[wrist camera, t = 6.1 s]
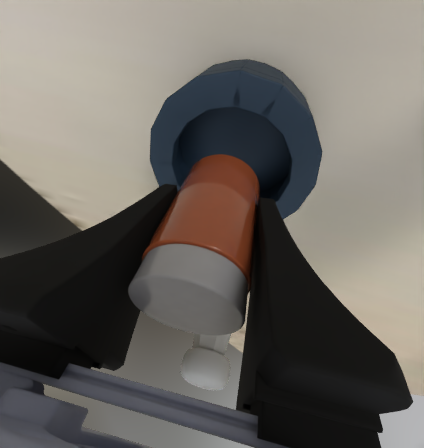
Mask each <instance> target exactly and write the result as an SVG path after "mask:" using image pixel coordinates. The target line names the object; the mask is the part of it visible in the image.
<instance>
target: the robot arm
mask: <svg viewBox="0 0 424 448" xmlns="http://www.w3.org/2000/svg"><path fill="white" fill-rule="evenodd" d="M177 193H178V191H177V185H171V184H164V185H162V186H160V187H159V188H157V189H156V190H154V191H153V192H151V193H150V194H148V195H147V196H145V197H144V198H142V199H141V200H139V201H138V202H136V203H135V204H133V205H131V206H130V207H128V208H126V209H125V210H123V211H121V212H120V213H118V214H116V215H114V216H113V217H111V218H109V219H107V220H105V221H103V222H101V223H99V224H97V225H95V226H93V227H91V228H88V229H86V230H84V231H81V232H79V233H76V234H74V235H71V236H69V237H67V238H64V239H61V240H59V241H56V242H53V243H50V244H47V245H45V246H41V247H38V248H35V249H32V250H29V251H25V252H22V253H18V254H15V255H12V256H8V257H4V258H0V448H152V447H149V446H146V445H142V444H139V443H136V442H133V441H129V440H125V439H122V438H119V437H116V436H112V435H109V434H106V433H102V432H99V431H95V430H92V429H89V428H85V427H82V424H83V422H84V419H85V418H86V415H87V413H88V409H87V408H84V407H81V406H78V405H74V404H71V403H68V402H65V401H61V400H58V399H55V398H51V397H48V396H45V395H44V385H43V384H46V385H49V386H52V387H56V388H59V389H62V390H66V391H69V392H72V393H76V394H79V395H82V396H85V397H89V398H92V399H95V400H99V401H102V402H105V403H109V404H112V405H115V406H119V407H122V408H125V409H129V410H132V411H135V412H139V413H142V414H145V415H148V416H152V417H155V418H158V419H162V420H165V421H168V422H172V423H175V424H178V425H182V426H185V427H188V428H192V429H195V430H198V431H202V432H205V433H208V434H212V435H215V436H218V437H221V438H225V439H228V440H232V441H235V442H238V443H241V444H245V445H248V446H251V447H254V448H381V445H380V441H379V437H378V433H382V431H383V428H382V424H381V420H380V416H379V414H383V413H389V412H395V411H401V410H405V409H407V408H409V407H410V405H411V404H412V403H413V400H412V397H411V394H410V392H409V389H408V386H407V383H406V380H405V377H404V374H403V372H402V370H401V367H400V365H399V363H398V361H397V359H396V356H395V354H394V353H393V352H392V351H391V350H390V349H389V348H388V347H387V346H385V345H384V344H383V343H382V342H381V341H380V340H379V339H378V338H377V337H376V336H375V335H374V334H372V333H371V332H370V331H369V330H368V329H367V328H366V327H365V326H364V325H363V324H362V323H361V322H360V321H359V320H358V319H357V318H356V317H355V316H354V315H353V314H352V313H351V312H350V311H349V310H348V309H347V308H346V307H345V306H344V305H343V304H342V303H341V302H340V301H339V300H338V299H337V298H336V296H335V295H334V294H333V293H332V292H331V291H330V290H329V288H328V287H327V286H326V285H325V284H324V283H323V282H322V280H321V279H320V278H319V277H318V275H317V274H316V273H315V272H314V270H313V269H312V268H311V266H310V265H309V263H308V262H307V261H306V259H305V258H304V256H303V255H302V253H301V252H300V250H299V249H298V247H297V245H296V244H295V242H294V240H293V239H292V237H291V235H290V233H289V231H288V229H287V227H286V225H285V223H284V221H283V219H282V217H281V215H280V212H279V210H278V207H277V205H276V202H275V200H274V199H268V198H261V197H260V200H259V205H258V212H257V225H256V237H255V249H254V260H253V272H252V284H251V289H250V298H249V307H248V316H247V325H246V333H245V342H244V350H243V358H242V366H241V374H240V381H239V389H238V396H237V406H236V410H233V409H230V408H227V407H223V406H219V405H216V404H212V403H208V402H205V401H202V400H198V399H195V398H191V397H187V396H184V395H180V394H177V393H173V392H170V391H166V390H163V389H159V388H156V387H152V386H148V385H145V384H141V383H138V382H134V381H130V380H127V379H124V378H120V377H116V376H113V375H109V374H106V373H102V372H98V371H95V370H92V369H91V367H94V368H98V369H100V368H106V369H110V370H113V371H114V370H117V369H119V368H120V367H121V366H123V365H124V361H125V358H126V354H127V351H128V348H129V344H130V341H131V338H132V334H133V331H134V328H135V325H136V322H137V319H138V316H139V313H140V309H138V308H137V307H136V306H135V305H134V303H133V302H132V301H131V299H130V297H129V295H128V286H129V284H130V282H131V280H132V278H133V277H134V275H135V273H136V271H137V269H138V267H139V266H140V264H141V262H142V255H143V252H144V251H145V249H146V247H147V245H148V243H149V242H150V240H151V238H152V236H153V235H154V233H155V231H156V229H157V228H158V226H159V224H160V222H161V221H162V219H163V217H164V215H165V214H166V212H167V210H168V208H169V207H170V205H171V203H172V201H173V200H174V198H175V196H176V194H177ZM377 432H378V433H377Z"/></svg>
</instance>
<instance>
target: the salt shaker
mask: <svg viewBox="0 0 424 448" xmlns="http://www.w3.org/2000/svg"><path fill="white" fill-rule="evenodd" d="M230 336H231V334H226V335H214V336H213V335H200V334H194V338H193V348H192V349H188V350H187V351H186V353H185V354H184V357H183V360H182V363H181V371H180V372H181V374H182V376H183V378H184V379H185V380H186V381H187V382H189V383H190V384H192V385H195V386H197V387H200V388H204V389H208V390H221V389H223V388H224V387H225V386H226V385H227V384H228V380H229V376H230V362H229V359H228V358H226V357H225V356H224V355H225V352H226V348H227V345H228V342H229V339H230Z"/></svg>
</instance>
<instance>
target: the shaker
mask: <svg viewBox="0 0 424 448" xmlns="http://www.w3.org/2000/svg"><path fill="white" fill-rule="evenodd" d="M259 190H260V187H259V181H258V178H257V176H256V174H255V172H254V171H253V170H252V168H251V167H250V166H249V165H248V164H246V163H245V162H244V161H242V160H240V159H238V158H236V157H233V156H230V155H224V154H216V155H210V156H207V157H204V158H202V159H201V160H199V161H198V162H197V163H195V164H194V166H193V167H192V168H191V170H190V172H189V173H188V175H187V177H186V179H185V180H184V182H183V184H182V186H181V187H180V189H179V191H178V193H177V194H176V196H175V198H174V200H173V201H172V203H171V205H170V207H169V208H168V210H167V212H166V214H165V215H164V217H163V219H162V221H161V222H160V224H159V226H158V228H157V229H156V231H155V233H154V235H153V236H152V238H151V240H150V242H149V243H148V245H147V247H146V249H145V251H144V252H143V255H142V262H141V264H140V266H139V267H138V269H137V271H136V273H135V275H134V277H133V278H132V280H131V282H130V284H129V286H128V295H129V297H130V299H131V301H132V302H133V303H134V305H135V306H136V307H137V308H138V309H140V310H141V311H142V312H143V313H145V314H146V315H148V316H149V317H151V318H153V319H154V320H156V321H158V322H160V323H162V324H165V325H167V326H170V327H172V328H175V329H178V330H181V331H185V332H189V333H194V334H200V335H213V336H214V335H226V334H231V333H234V332H236V331H238V330H239V329H241V327H242V326H243V324H244V322H245V315H246V305H247V294H248V293H249V291H250V289H251V284H252V272H253V260H254V249H255V237H256V225H257V212H258V202H259Z"/></svg>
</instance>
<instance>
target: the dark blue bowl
mask: <svg viewBox="0 0 424 448" xmlns="http://www.w3.org/2000/svg"><path fill="white" fill-rule="evenodd" d="M216 154H224V155H230V156H233V157H236V158H238V159H240V160H242V161H244V162H245V163H246V164H248V165H249V166H250V167H251V168H252V170H253V171H254V172H255V174H256V176H257V178H258V181H259V187H260V190H259V200H260V197H261V198H268V199H274V200H275V202H276V205H277V207H278V210H279V212H280V215H281V217H282V219H284V218H286V217H288V216H289V215H291V214H292V213H294V212H295V211H297V210H298V209H299V207H300V206H301V205H302V203H303V202H304V201H305V199H306V198H307V196H308V195H309V194H310V192H311V191H312V190H313V188H314V187H315V185H316V181H317V176H318V171H319V167H320V162H321V157H322V149H321V145H320V141H319V137H318V134H317V130H316V126H315V123H314V119H313V116H312V113H311V111H310V109H309V106H308V104H307V101H306V99H305V97H304V95H303V94H302V93H301V92H300V91H299V89H298V88H297V87H296V85H295V84H294V83H293V82H292V81H291V80H290V79H289V78H288V77H287V76H286V75H285V74H284V73H283V72H282V71H280V70H278V69H276V68H274V67H272V66H270V65H267V64H265V63H261V62H257V61H252V60H247V59H246V60H234V61H229V62H225V63H221V64H215V65H213V66H211V67H210V68H208V69H207V70H206V71H204V72H203V73H201V74H200V75H198V76H197V77H195V78H194V79H193V80H191V81H190V82H189V83H187V84H186V85H185V86H183V87H182V88H180V89H179V90H178V91H176V92H175V93H174V94H172V95H171V96H170V97H168V98H167V99H166V100H165V102H164V104H163V106H162V108H161V110H160V112H159V114H158V116H157V118H156V120H155V122H154V124H153V126H152V128H151V143H150V162H151V165H152V168H153V171H154V173H155V176H156V179H157V182H158V184H159V187H160V186H162V185H164V184H171V185H177V191H179V189H180V187H181V186H182V184H183V182H184V180H185V179H186V177H187V175H188V173H189V172H190V170H191V168H192V167H193V166H194V164H195V163H197V162H198V161H199V160H201V159H202V158H204V157H207V156H210V155H216ZM258 205H259V202H258Z"/></svg>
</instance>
